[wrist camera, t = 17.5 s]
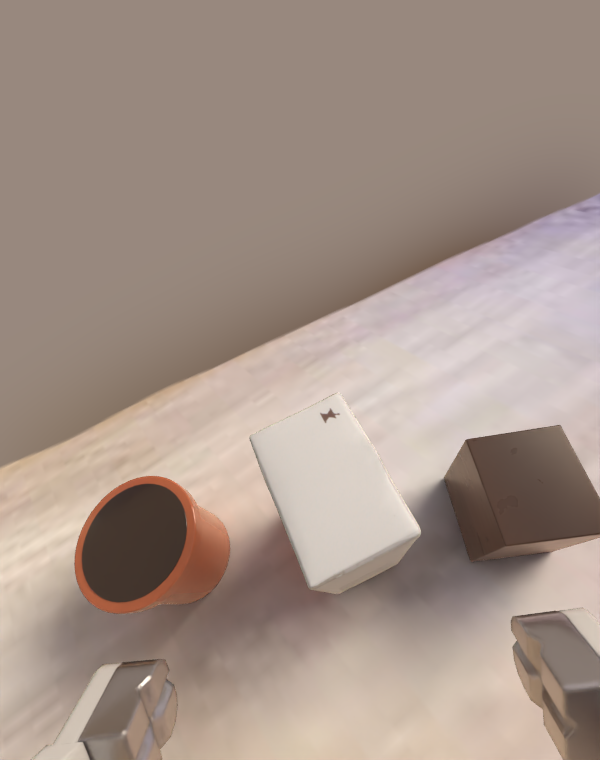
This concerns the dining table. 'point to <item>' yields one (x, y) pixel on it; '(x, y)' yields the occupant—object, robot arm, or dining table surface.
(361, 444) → the cosmetic box
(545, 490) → the walnut block
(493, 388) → the dining table surface
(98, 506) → the flower pot
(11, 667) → the dining table surface
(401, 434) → the dining table surface
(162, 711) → the robot arm
